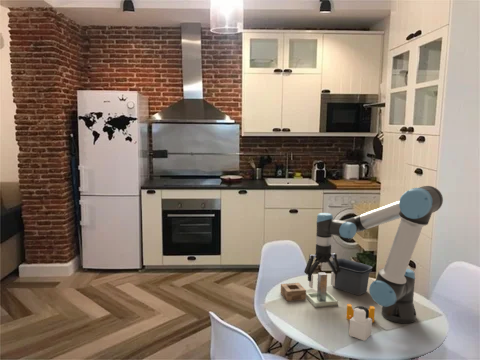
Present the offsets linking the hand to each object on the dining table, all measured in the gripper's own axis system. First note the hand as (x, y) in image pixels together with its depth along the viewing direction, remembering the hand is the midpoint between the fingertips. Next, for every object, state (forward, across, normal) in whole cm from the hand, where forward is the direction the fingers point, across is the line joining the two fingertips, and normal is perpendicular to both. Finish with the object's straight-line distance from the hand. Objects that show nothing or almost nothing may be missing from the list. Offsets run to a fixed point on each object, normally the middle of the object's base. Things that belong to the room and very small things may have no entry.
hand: (321, 286), depth 199 cm
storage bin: (+8, -22, -11) cm, 26 cm away
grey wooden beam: (+7, 0, 0) cm, 7 cm away
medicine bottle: (+8, -2, +34) cm, 35 cm away
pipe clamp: (+8, -10, +21) cm, 24 cm away
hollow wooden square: (+8, +12, -8) cm, 17 cm away
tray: (+8, 0, 0) cm, 8 cm away
